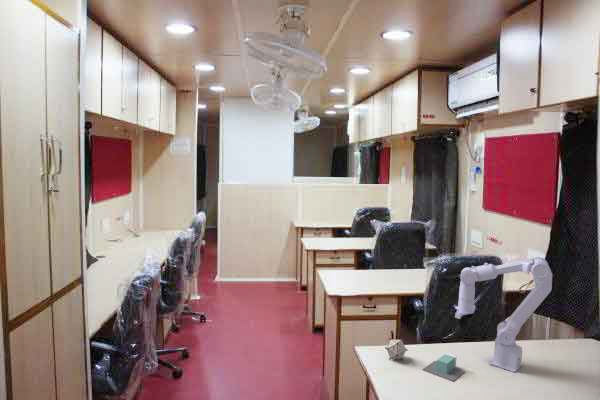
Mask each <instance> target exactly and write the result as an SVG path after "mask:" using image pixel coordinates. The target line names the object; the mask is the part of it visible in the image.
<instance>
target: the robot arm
mask: <svg viewBox="0 0 600 400" xmlns="http://www.w3.org/2000/svg"><path fill="white" fill-rule="evenodd" d="M517 272H521V273H524V274H526V275H528V276H529V275H530V274H531V275H532V277H533V278H534V280H535V284H536V285H535V286H534V287H533V288H532V290H530V292H529V293H528V294H527V296H526V297H525V298H524V299H523V300H522V301H521V303H520V304H519V305H518V306H517V308H516V309H515V310H514V311H513V312H512V314H511V315H510V316H508V317H507V318H506V319H505V320H504V321H501V322H500V323H498V324H497V327H496V331H497V333H496V338H495V339H494V349H493V350H494V351H493V359H492V360H491V361H489V365H491V366H492V365H493V366H495V367H496V368H497V367H498V368H500V369H504V370H506V371H510V372H513V373H516V372H517V371H518V370H519V369H520V368H521V367H522V365H523V364H522V361H523V360H522V359H523V347H522V346H520V345H518V344H517V343H516V339H517V335H518V334H519V332H520V330H521V328H522V326H523V325H524V324H525V323H526V321H527V320H528V319H529V318H530V317H531V316H532V314H533V313H534V311H536V309H538V307H539V306H540V305H541V304H542V303H543V301H544V300H545V299H546V298H547V296H548V295H549V294H550V293H551V291H552V290H553V289H552V288H553V287H552V286H553V272H552V270H551V267H550V266H549V263H548V260H547V259H545V258H543V257H540V256H539V257H538V256H537V257H528V258H524V259H519V260H515V261H511V262H507V263H504V264H503V263H502V264H498V265H495V264H492V263H488V262H484V264H482V265H478V266H475V265H472V266H471V267H464V268H463V269H462V270H461V271H460V275H459V279H460V281H459V283H460V285H459V291H458V302H457V304H458V305H456V306H455V307H454V308H455V310H456V312H455V313H454V318H455V319H457V320H458V323H459V330H460V332H462V333H468V330H469V327H470V324H471V322H472V320H473V318H474V317H475V314H474V313H475V311H476V305H475V295H476V287H475V285H476V284H475V283H476V282H484V281H489V280H494V279H496V278H497V277H498V276H499V275H502V274H510V273H517Z"/></svg>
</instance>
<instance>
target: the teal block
mask: <svg viewBox="0 0 600 400" xmlns="http://www.w3.org/2000/svg"><path fill="white" fill-rule="evenodd" d="M457 358H458V357H457V355H456V356H455V355H453V354H451V353H447V352H446V353H444V354H443V355H442V356H440V357H439V358H437V360H436V361H437V366H436V370H437V371H440V372H443V373H445V374H447V373H448V372H450V371H451V370H452V369H454V368H457Z"/></svg>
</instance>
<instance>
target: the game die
mask: <svg viewBox="0 0 600 400" xmlns="http://www.w3.org/2000/svg"><path fill="white" fill-rule="evenodd" d="M403 340H404V338H403V337H402V338H401V339H394V338H391V337H389V342H388V343H387V345H386V346H385V347H384V349H385V350H386V351H387V353H388V356H389V358H388V360H391V359H396V360H397V359H398V360H399V359H400V360H401V361H402V362H403V361H404V359H403V357H404V356H405V353H406V352H407V351H409V349H407V348H406V346H405V343H404V342H403Z"/></svg>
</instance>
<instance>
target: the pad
mask: <svg viewBox="0 0 600 400" xmlns="http://www.w3.org/2000/svg"><path fill="white" fill-rule="evenodd" d="M436 366H437V360H433V361H432V362H431V363H430V364H428V365H426V366H425V367H424V368H422V371H424V372H426V373H430V374H431V375H434V376H437V377H440V378H442V379H445V380H448V381H450V382H454V381H456V380H457V379H459V378H460V377H461V376H462V375H464V374H465V373H466V370H462V369H460V368H457V367H455V368H454V369H452V370H451V371H450V372H448V373H447V374H445V373H443V372H440V371H437V370H436Z"/></svg>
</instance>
